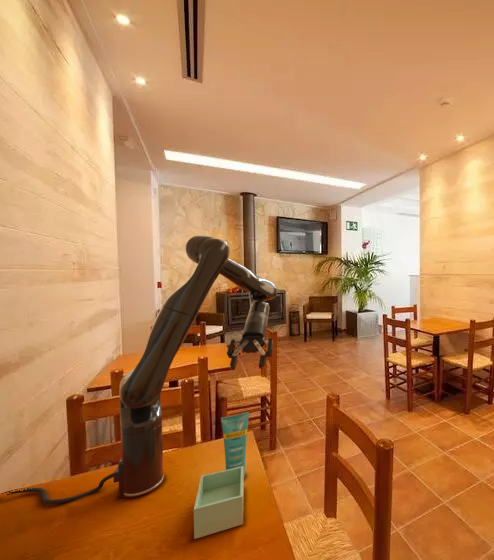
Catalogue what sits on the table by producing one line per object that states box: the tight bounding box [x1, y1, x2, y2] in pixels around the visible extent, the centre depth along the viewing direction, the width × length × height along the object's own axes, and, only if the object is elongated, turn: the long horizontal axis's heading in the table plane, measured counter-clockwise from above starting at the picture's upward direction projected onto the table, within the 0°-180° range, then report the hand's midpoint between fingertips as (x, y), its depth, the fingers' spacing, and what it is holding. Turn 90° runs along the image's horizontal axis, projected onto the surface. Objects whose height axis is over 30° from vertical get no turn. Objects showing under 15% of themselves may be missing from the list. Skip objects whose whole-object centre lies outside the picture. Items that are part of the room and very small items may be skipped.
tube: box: [220, 411, 250, 479], centre depth 88 cm, size 7×5×19 cm, turn 123°
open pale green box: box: [193, 466, 245, 540], centre depth 76 cm, size 10×12×7 cm
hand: (246, 368), depth 99 cm, fingers open, 8 cm apart
